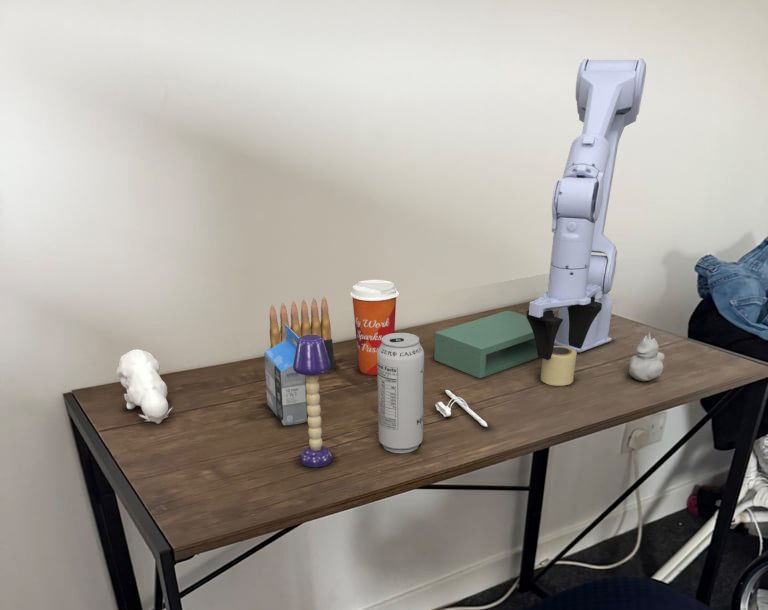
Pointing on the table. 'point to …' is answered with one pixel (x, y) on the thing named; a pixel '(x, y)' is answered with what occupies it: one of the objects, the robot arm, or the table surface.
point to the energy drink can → (400, 392)
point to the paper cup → (373, 319)
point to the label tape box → (285, 382)
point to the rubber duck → (646, 360)
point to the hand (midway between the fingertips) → (559, 352)
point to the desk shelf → (487, 344)
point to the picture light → (446, 410)
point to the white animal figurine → (143, 384)
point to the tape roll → (559, 367)
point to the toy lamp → (313, 395)
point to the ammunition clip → (303, 325)
